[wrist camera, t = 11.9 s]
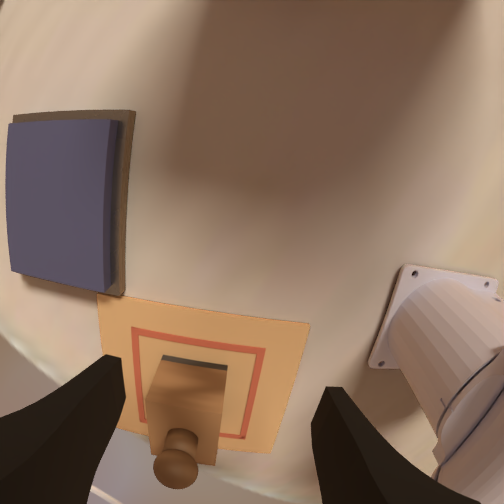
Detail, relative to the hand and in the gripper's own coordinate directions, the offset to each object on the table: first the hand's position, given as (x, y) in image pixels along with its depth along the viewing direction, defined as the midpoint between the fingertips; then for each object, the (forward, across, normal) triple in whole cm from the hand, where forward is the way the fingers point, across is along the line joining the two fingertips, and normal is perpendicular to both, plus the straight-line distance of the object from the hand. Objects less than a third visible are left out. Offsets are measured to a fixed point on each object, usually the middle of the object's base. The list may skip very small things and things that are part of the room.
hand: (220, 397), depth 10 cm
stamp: (+9, +2, +9) cm, 13 cm away
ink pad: (+9, +12, -4) cm, 15 cm away
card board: (+9, +2, +9) cm, 13 cm away
